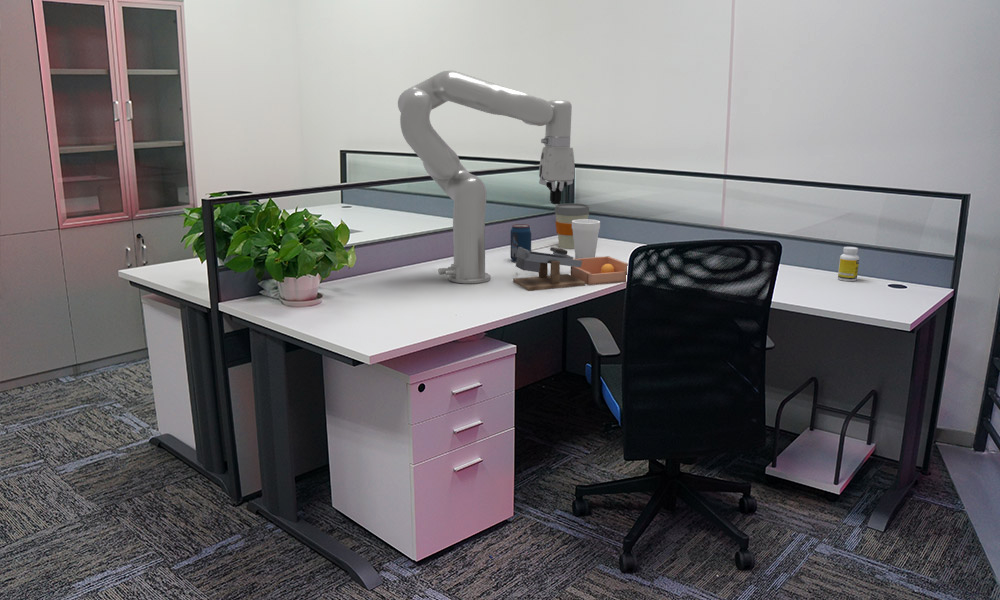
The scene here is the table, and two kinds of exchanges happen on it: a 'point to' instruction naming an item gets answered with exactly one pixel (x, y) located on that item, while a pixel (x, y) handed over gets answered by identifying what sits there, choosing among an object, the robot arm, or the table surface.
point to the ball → (607, 268)
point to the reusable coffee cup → (568, 222)
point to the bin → (592, 270)
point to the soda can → (520, 239)
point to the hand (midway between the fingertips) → (555, 203)
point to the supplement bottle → (848, 264)
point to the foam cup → (585, 237)
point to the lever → (543, 259)
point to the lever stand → (549, 279)
